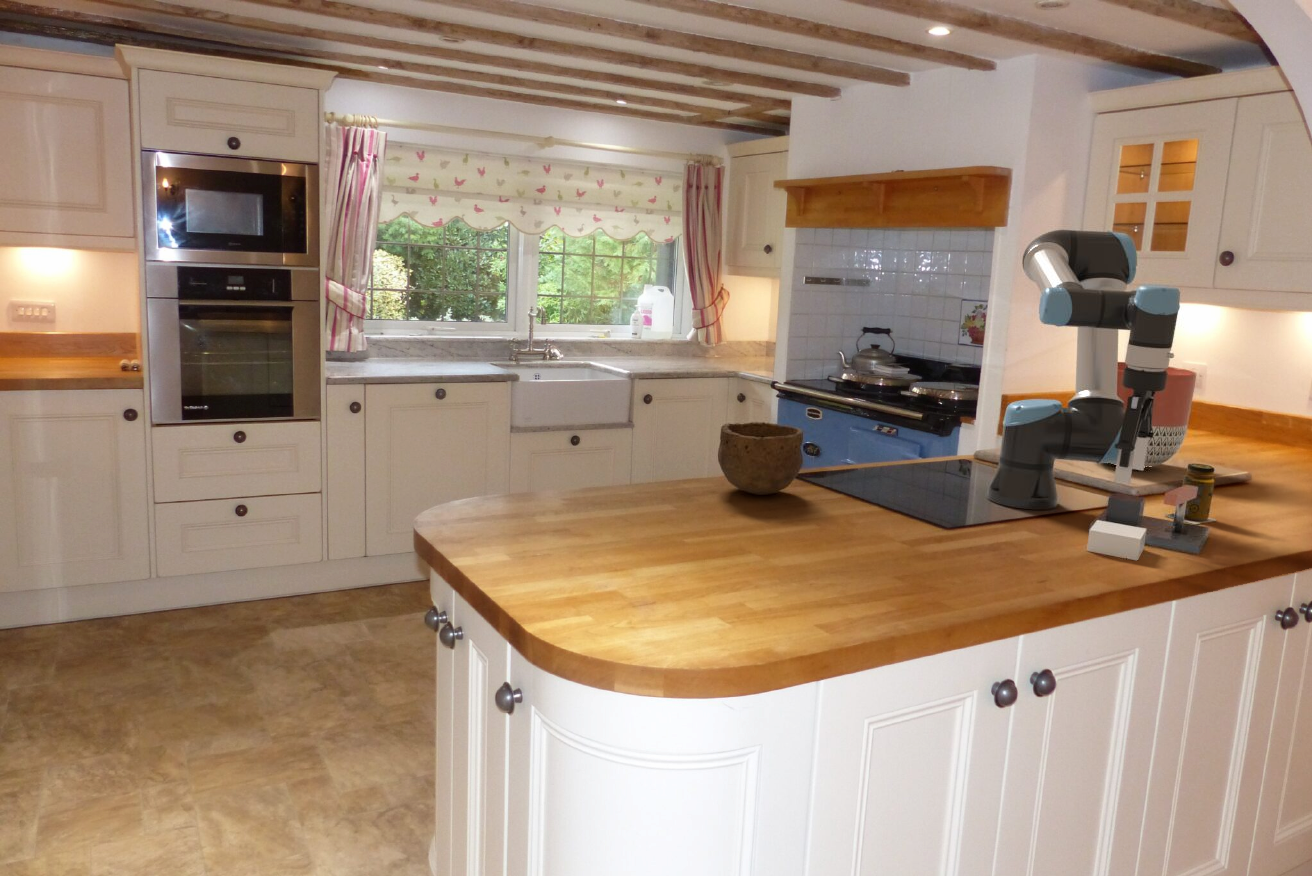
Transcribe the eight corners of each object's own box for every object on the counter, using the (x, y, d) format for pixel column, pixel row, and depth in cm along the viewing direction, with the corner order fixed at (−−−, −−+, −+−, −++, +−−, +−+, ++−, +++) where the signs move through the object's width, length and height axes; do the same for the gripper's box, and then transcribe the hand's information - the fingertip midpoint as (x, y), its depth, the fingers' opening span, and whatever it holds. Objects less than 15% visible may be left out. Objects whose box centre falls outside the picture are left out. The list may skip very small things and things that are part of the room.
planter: (1064, 465, 272) (1077, 366, 267) (1086, 450, 294) (1099, 358, 288) (1172, 482, 257) (1189, 378, 252) (1187, 466, 279) (1203, 369, 273)
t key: (1170, 537, 198) (1177, 495, 197) (1158, 534, 200) (1165, 492, 198) (1191, 527, 207) (1197, 486, 205) (1179, 524, 208) (1186, 484, 206)
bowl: (703, 496, 220) (707, 429, 217) (730, 478, 237) (734, 416, 234) (787, 508, 213) (792, 439, 210) (808, 490, 230) (813, 426, 227)
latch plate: (1088, 533, 206) (1093, 500, 205) (1104, 517, 219) (1109, 486, 218) (1197, 554, 195) (1203, 519, 194) (1207, 536, 208) (1213, 504, 207)
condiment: (1216, 520, 222) (1225, 467, 219) (1195, 525, 217) (1204, 471, 215) (1184, 512, 228) (1192, 460, 225) (1163, 516, 223) (1171, 463, 221)
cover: (1086, 550, 194) (1089, 529, 193) (1094, 540, 201) (1097, 520, 201) (1137, 560, 189) (1140, 539, 188) (1143, 549, 197) (1146, 528, 196)
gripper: (1156, 378, 179) (1137, 493, 184) (1178, 363, 199) (1161, 467, 204) (1111, 372, 183) (1094, 485, 188) (1137, 358, 203) (1121, 460, 208)
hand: (1129, 475), depth 196 cm, fingers open, 13 cm apart
